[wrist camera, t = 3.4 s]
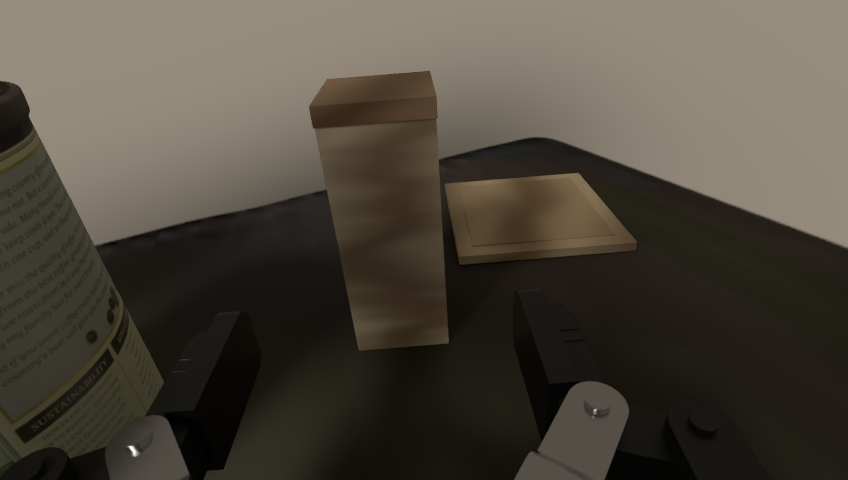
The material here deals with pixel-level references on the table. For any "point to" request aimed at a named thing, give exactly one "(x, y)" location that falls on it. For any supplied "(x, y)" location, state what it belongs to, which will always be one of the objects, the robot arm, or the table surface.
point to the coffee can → (58, 312)
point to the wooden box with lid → (386, 204)
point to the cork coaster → (532, 219)
